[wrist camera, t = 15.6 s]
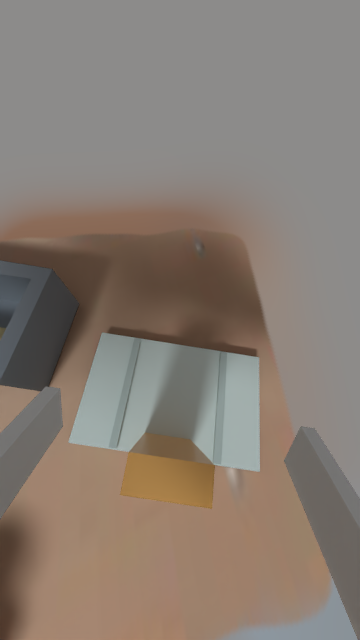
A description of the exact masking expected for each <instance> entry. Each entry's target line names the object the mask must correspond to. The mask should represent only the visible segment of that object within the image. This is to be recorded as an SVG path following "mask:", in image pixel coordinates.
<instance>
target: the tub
mask: <svg viewBox="0 0 360 640" xmlns="http://www.w3.org/2000/svg"><path fill="white" fill-rule="evenodd" d="M78 306H79V303H78V301H77V300H76V299H75V297H74V296H73V295H72V294H71V292H70V291H69V290H68V288H67V287H66V286H65V285H64V283H63V282H62V281H61V280H60V278H59V277H58V276H57V274H56V273H55V272H54V271H53V269H49V268H43V267H37V266H31V265H25V264H19V263H12V262H6V261H0V385H4V386H11V387H17V388H23V389H30V390H36V391H42V390H43V389H44V388H45V387H46V386H47V387H48V385H49V383H50V380H51V377H52V375H53V372H54V369H55V367H56V364H57V361H58V359H59V356H60V353H61V351H62V348H63V346H64V343H65V340H66V338H67V335H68V332H69V330H70V327H71V324H72V322H73V319H74V316H75V314H76V311H77V308H78Z"/></svg>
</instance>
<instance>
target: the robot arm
mask: <svg viewBox="0 0 360 640" xmlns="http://www.w3.org/2000/svg"><path fill="white" fill-rule="evenodd" d="M62 427H63V423H62V408H61V393H60V388H54V387H47V386H46V387H45V388H44V389H43V390H42V391H41V392H40V393H39V394H38V395H37V396H36V397H35V398H34V399H33V400H32V401H31V402H30V403H29V404H28V405H27V406H26V407H25V408H24V409H23V411H22V412H21V413H20V414H19V415H18V416H17V417H16V418H15V419H14V420H13V421H12V422H11V423H10V424H9V425H8V426H7V427H6V428H5V429H4V430H3V431H2V432H1V433H0V519H1V517H2V516H3V514H4V513H5V511H6V510H7V508H8V507H9V505H10V504H11V502H12V501H13V499H14V498H15V496H16V495H17V493H18V492H19V490H20V489H21V487H22V486H23V484H24V483H25V482H26V480H27V479H28V477H29V476H30V474H31V473H32V471H33V470H34V468H35V467H36V465H37V464H38V462H39V461H40V459H41V458H42V456H43V455H44V453H45V452H46V450H47V449H48V447H49V446H50V444H51V443H52V442H53V440H54V439H55V437H56V436H57V434H58V433H59V431H60V430H61V428H62ZM284 462H285V464H286V467H287V469H288V472H289V474H290V476H291V479H292V481H293V484H294V486H295V488H296V491H297V493H298V496H299V498H300V501H301V503H302V505H303V508H304V510H305V513H306V515H307V518H308V520H309V522H310V525H311V527H312V530H313V532H314V534H315V537H316V539H317V542H318V544H319V547H320V549H321V551H322V554H323V556H324V559H325V561H326V564H327V566H328V568H329V571H330V573H331V576H332V578H333V580H334V583H335V585H336V587H337V590H338V593H339V595H340V597H341V600H342V602H343V605H344V607H345V610H346V612H347V614H348V617H349V619H350V622H351V624H352V627H353V629H354V631H355V633H356V636H357V638H358V640H360V498H359V497H358V495H357V494H356V492H355V490H354V489H353V487H352V486H351V484H350V483H349V481H348V480H347V478H346V477H345V475H344V473H343V472H342V470H341V469H340V467H339V466H338V464H337V462H336V461H335V459H334V458H333V456H332V455H331V453H330V451H329V450H328V448H327V447H326V445H325V444H324V442H323V441H322V439H321V437H320V436H319V434H318V433H317V431H316V430H315V429H314V428H308V427H300V429H299V431H298V433H297V435H296V437H295V439H294V441H293V443H292V445H291V447H290V450H289V452H288V454H287V456H286V458H285V460H284Z"/></svg>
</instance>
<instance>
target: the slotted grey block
mask: <svg viewBox="0 0 360 640" xmlns="http://www.w3.org/2000/svg"><path fill="white" fill-rule="evenodd" d="M68 443H74V444H81V445H87V446H94V447H100V448H107V449H114V450H120V451H127V452H129V453H128V458H127V463H126V468H125V473H124V478H123V483H122V488H121V493H120V495H123V496H130V497H137V498H143V499H150V500H157V501H164V502H170V503H177V504H184V505H190V506H197V507H204V508H210V509H212V500H213V485H214V469H215V465H219V466H225V467H232V468H239V469H245V470H252V471H258V472H260V432H259V357H254V356H247V355H241V354H235V353H228V352H222V351H216V350H210V349H203V348H197V347H191V346H184V345H178V344H172V343H165V342H159V341H153V340H146V339H140V338H134V337H128V336H121V335H115V334H109V333H102V334H101V337H100V341H99V344H98V347H97V351H96V354H95V357H94V360H93V364H92V367H91V370H90V373H89V377H88V380H87V383H86V386H85V390H84V393H83V396H82V400H81V403H80V406H79V409H78V413H77V416H76V419H75V422H74V426H73V429H72V432H71V435H70V439H69V442H68Z"/></svg>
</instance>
